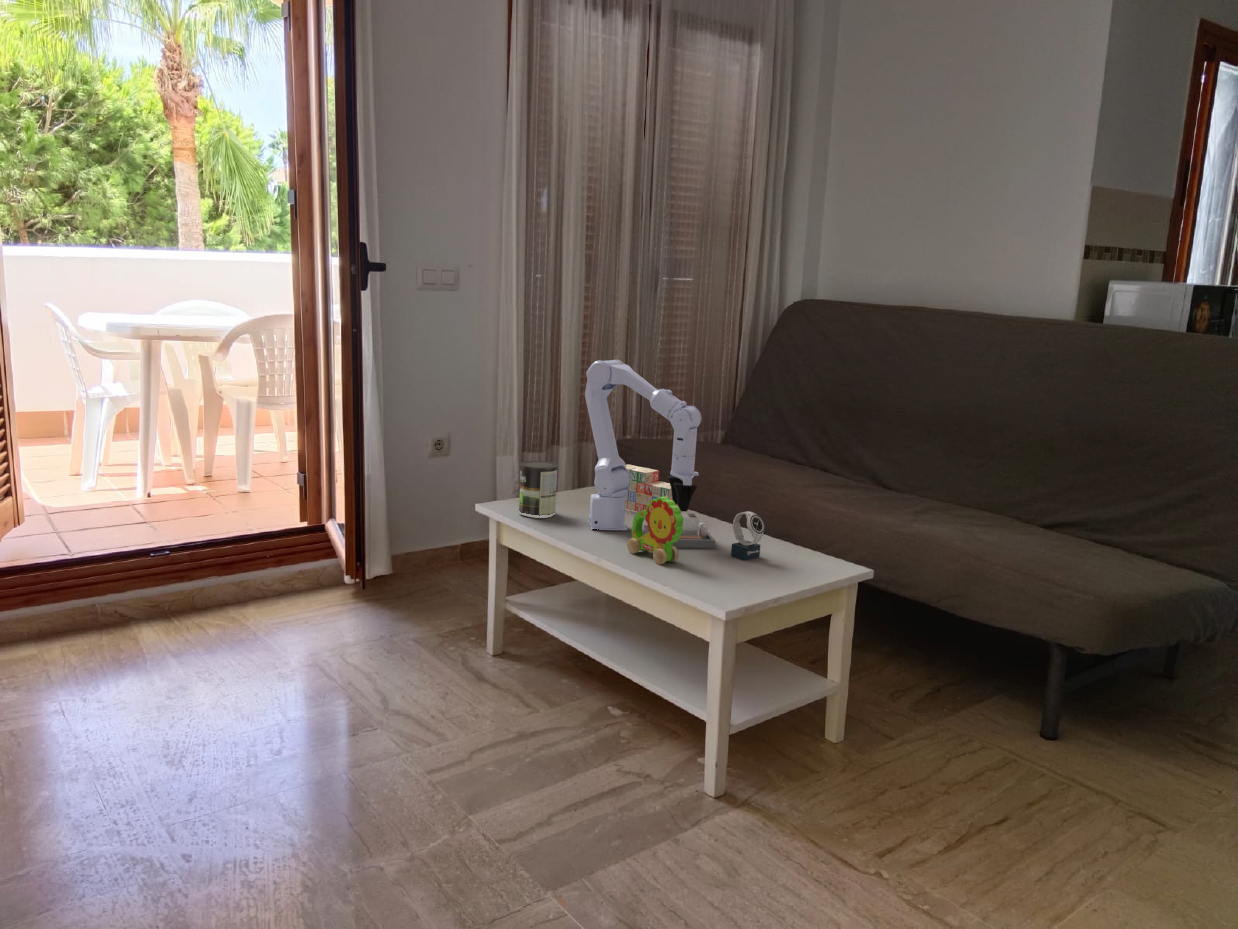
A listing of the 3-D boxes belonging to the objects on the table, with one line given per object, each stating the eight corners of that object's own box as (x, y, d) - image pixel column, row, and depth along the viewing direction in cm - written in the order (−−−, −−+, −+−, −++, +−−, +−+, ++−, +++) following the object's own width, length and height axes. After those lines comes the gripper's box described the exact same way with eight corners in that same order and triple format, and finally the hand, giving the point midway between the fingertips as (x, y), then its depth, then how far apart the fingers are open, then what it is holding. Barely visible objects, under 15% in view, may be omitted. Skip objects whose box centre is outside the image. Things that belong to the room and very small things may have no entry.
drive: (662, 536, 231) (663, 516, 230) (659, 532, 234) (661, 512, 234) (697, 537, 232) (698, 517, 231) (694, 532, 236) (695, 513, 235)
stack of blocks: (681, 518, 257) (684, 475, 255) (666, 521, 253) (669, 478, 251) (626, 504, 272) (628, 463, 270) (611, 506, 267) (613, 465, 265)
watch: (750, 562, 217) (754, 517, 215) (725, 554, 222) (728, 510, 221) (766, 559, 220) (769, 514, 218) (740, 551, 226) (743, 507, 224)
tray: (651, 547, 225) (652, 530, 225) (643, 532, 239) (644, 517, 238) (714, 548, 227) (716, 531, 227) (703, 533, 241) (704, 518, 240)
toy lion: (625, 552, 220) (628, 490, 217) (642, 549, 224) (646, 488, 221) (668, 569, 208) (672, 503, 205) (686, 565, 211) (690, 501, 209)
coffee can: (519, 518, 247) (521, 467, 245) (517, 509, 257) (518, 460, 255) (557, 518, 249) (560, 467, 247) (553, 510, 259) (555, 461, 257)
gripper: (705, 460, 223) (701, 514, 225) (693, 450, 237) (690, 501, 239) (677, 459, 222) (673, 514, 224) (666, 449, 236) (663, 500, 238)
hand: (680, 507), depth 232 cm, fingers open, 7 cm apart
